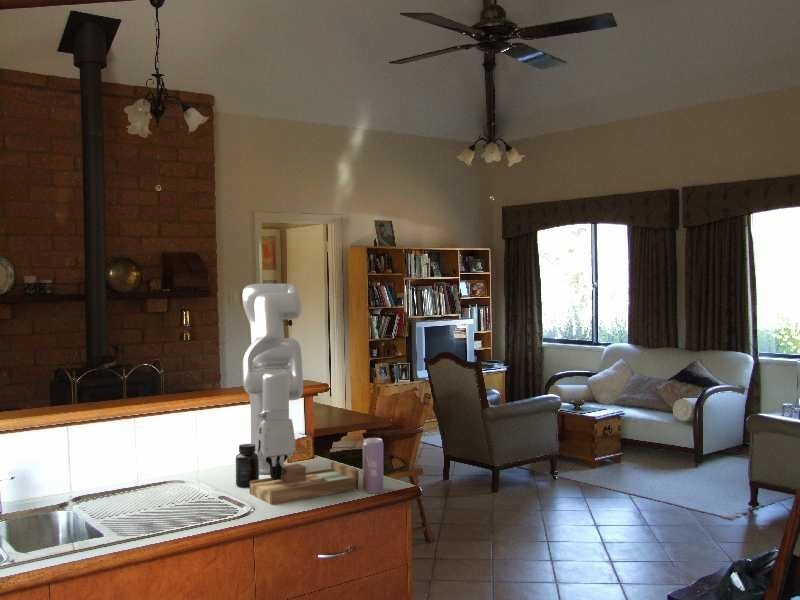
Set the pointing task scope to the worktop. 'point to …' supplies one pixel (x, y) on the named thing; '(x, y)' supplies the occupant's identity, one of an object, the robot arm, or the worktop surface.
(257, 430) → the robot arm
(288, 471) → the walnut block
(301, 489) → the trap trough
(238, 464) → the supplement bottle
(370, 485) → the beverage can
